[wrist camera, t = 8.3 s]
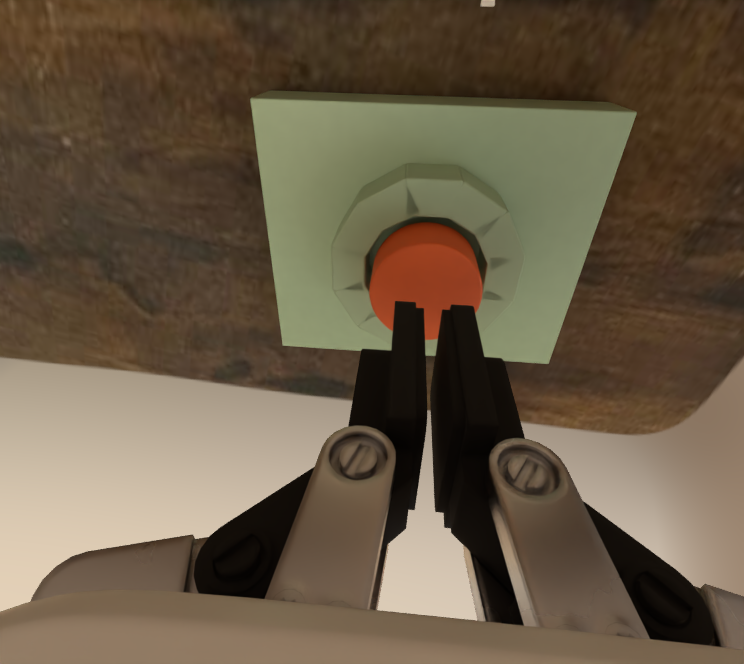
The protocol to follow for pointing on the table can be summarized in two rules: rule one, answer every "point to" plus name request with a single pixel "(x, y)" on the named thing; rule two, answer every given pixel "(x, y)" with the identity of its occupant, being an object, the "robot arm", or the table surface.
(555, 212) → the button block
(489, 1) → the panel
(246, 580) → the robot arm
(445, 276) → the button
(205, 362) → the table surface
